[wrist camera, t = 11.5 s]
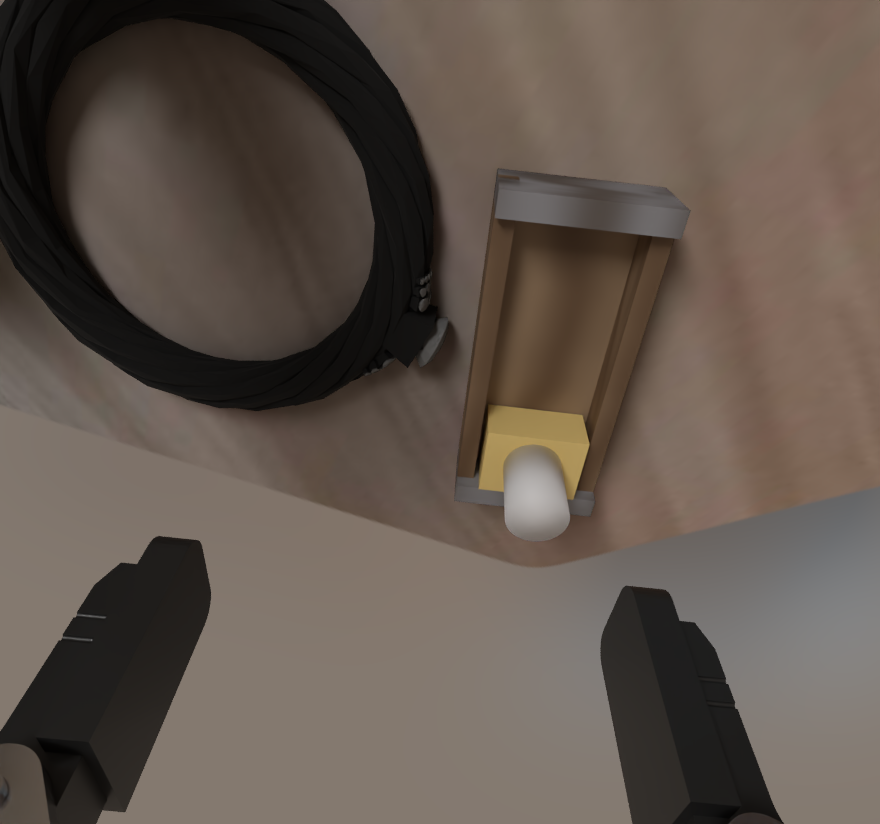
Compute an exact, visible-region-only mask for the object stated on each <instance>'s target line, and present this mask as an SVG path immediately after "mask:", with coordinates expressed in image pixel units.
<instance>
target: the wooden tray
mask: <svg viewBox="0 0 880 824" xmlns="http://www.w3.org/2000/svg"><path fill="white" fill-rule="evenodd" d="M689 214H690V210H689V209H688V208H687V207H686V206H685V205H684V204H683V203H682V202H681V201H680V200H679V199H678V198H677V197H675V196H674V195H673V194H672V193H671V192H670V191H669V190H668V189H667V188H664V187H656V186H647V185H638V184H629V183H620V182H611V181H603V180H594V179H585V178H576V177H567V176H558V175H550V174H541V173H532V172H523V171H514V170H505V169H498V170H497V177H496V184H495V192H494V199H493V206H492V213H491V220H490V227H489V234H488V242H487V249H486V256H485V263H484V270H483V277H482V285H481V292H480V299H479V306H478V313H477V320H476V327H475V335H474V342H473V349H472V356H471V363H470V370H469V378H468V385H467V392H466V399H465V406H464V413H463V421H462V428H461V435H460V442H459V449H458V456H457V469H456V483H455V497H454V501H459V502H468V503H477V504H485V505H494V506H503V507H504V492H500V491H492V490H483V489H479V457H480V451H481V445H482V439H483V433H484V427H485V421H486V415H487V409H488V404H490V405H499V406H508V407H516V408H525V409H534V410H542V411H551V412H560V413H568V414H577V415H583V419H584V423H585V427H586V431H587V436H588V440H589V444H590V445H589V448H588V452H587V455H586V458H585V462H584V465H583V469H582V472H581V475H580V479H579V482H578V485H577V489H576V492H575V495H574V499H573V500H569V499H567V501H568V507H569V513H570V514H572V515H580V516H589V517H590V516H591V513H592V510H593V507H594V504H595V499H594V494H593V491H594V488H595V485H596V482H597V478H598V475H599V472H600V469H601V466H602V463H603V460H604V457H605V454H606V450H607V447H608V444H609V441H610V438H611V435H612V432H613V429H614V426H615V422H616V419H617V416H618V413H619V410H620V407H621V404H622V401H623V398H624V394H625V391H626V388H627V385H628V382H629V379H630V376H631V373H632V369H633V366H634V363H635V360H636V357H637V354H638V351H639V348H640V345H641V341H642V338H643V335H644V332H645V329H646V326H647V323H648V320H649V317H650V313H651V310H652V307H653V304H654V301H655V298H656V295H657V292H658V289H659V285H660V282H661V279H662V276H663V273H664V270H665V267H666V264H667V261H668V257H669V254H670V251H671V248H672V245H673V242H674V239H681V238H682V235H683V232H684V229H685V226H686V223H687V220H688V217H689Z"/></svg>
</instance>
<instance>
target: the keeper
mask: <svg viewBox="0 0 880 824" xmlns="http://www.w3.org/2000/svg"><path fill="white" fill-rule="evenodd" d="M589 445H590V444H589V440H588V436H587V431H586V427H585V423H584V419H583V415H577V414H568V413H560V412H551V411H542V410H534V409H525V408H516V407H508V406H499V405H490V404H488V409H487V415H486V421H485V427H484V433H483V439H482V445H481V451H480V457H479V489H483V490H492V491H500V492H504V510H505V523H506V526H507V528H508V530H509V531H510V532H511V533H512V534H513V535H515V536H516V537H518V538H520V539H523V540H527V541H533V542H540V541H547V540H550V539H553V538H555V537H557V536H559V535H560V534H562V533H563V532H564V531H565V529H566V528H567V527H568V525H569V522H570V513H569V507H568V501H567V499H569V500H573V499H574V495H575V492H576V489H577V485H578V482H579V479H580V475H581V472H582V469H583V465H584V462H585V458H586V455H587V452H588V448H589Z"/></svg>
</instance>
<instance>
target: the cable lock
mask: <svg viewBox="0 0 880 824" xmlns="http://www.w3.org/2000/svg"><path fill="white" fill-rule="evenodd" d="M159 18H173V19H178V20H183V21H189V22H194V23H199V24H205V25H210V26H213V27H217V28H220V29H224V30H227V31H231V32H233V33H236V34H238V35H241V36H243V37H245V38H247V39H248V40H250V41H251V42H253V43H254V44H256V45H258V46H259V47H261V48H262V49H264V50H266V51H267V52H269V53H270V54H272V55H274V56H275V57H277V58H278V59H280V60H282V61H283V62H284V63H285V64H286V65H287V66H288V67H289V68H290V69H291V70H293V71H294V72H295V73H296V74H297V75H298V76H299V77H300V78H301V79H302V80H303V81H304V82H305V83H306V84H307V85H308V86H310V87H311V88H312V89H313V90H314V91H315V92H316V93H317V94H318V95H319V96H320V97H321V98H322V99H323V100H324V101H325V102H326V103H327V104H328V106H329V107H330V108H331V110H332V111H333V113H334V114H335V116H336V118H337V120H338V121H339V123H340V125H341V127H342V128H343V130H344V132H345V134H346V136H347V137H348V139H349V141H350V143H351V145H352V146H353V148H354V150H355V152H356V153H357V155H358V157H359V159H360V161H361V163H362V166H363V168H364V171H365V176H366V181H367V186H368V191H369V196H370V201H371V206H372V211H373V216H374V221H375V231H374V249H373V262H372V266H371V270H370V274H369V278H368V281H367V283H366V285H365V288H364V290H363V292H362V295H361V297H360V299H359V302H358V304H357V306H356V307H355V309H354V310H353V312H352V313H351V314H350V316H349V317H348V319H347V320H346V322H345V323H344V324H342V325H341V326H340V327H339V328H338V329H336V330H335V331H334V332H333V333H331V334H330V335H329V336H328V337H327V338H325V339H324V340H323V341H322V342H320V343H319V344H318V345H317V346H316V347H313V348H311V349H308V350H305V351H302V352H299V353H296V354H293V355H291V356H288V357H285V358H282V359H279V360H273V361H236V360H230V359H224V358H217V357H213V356H210V355H206V354H203V353H199V352H196V351H193V350H190V349H188V348H186V347H184V346H182V345H179V344H177V343H175V342H173V341H171V340H169V339H167V338H165V337H163V336H161V335H159V334H158V333H156V332H154V331H153V330H151V329H150V328H148V327H147V326H145V325H144V324H142V323H140V322H139V321H138V320H137V319H136V318H135V317H133V316H132V315H131V314H130V313H129V312H128V311H127V310H126V309H124V308H123V307H122V306H121V305H120V304H119V303H118V302H117V301H116V300H114V299H113V298H112V297H111V296H110V295H109V294H108V293H107V292H106V291H105V290H104V289H103V287H102V286H101V285H100V284H99V283H98V282H97V281H96V280H95V278H94V277H93V276H92V275H91V274H90V272H89V271H88V269H87V267H86V266H85V264H84V263H83V261H82V260H81V258H80V256H79V255H78V253H77V252H76V250H75V248H74V247H73V245H72V244H71V242H70V240H69V238H68V236H67V234H66V232H65V230H64V228H63V226H62V224H61V222H60V220H59V217H58V215H57V213H56V211H55V209H54V206H53V202H52V197H51V190H50V184H49V177H48V171H47V164H46V158H45V124H46V121H47V117H48V114H49V110H50V107H51V103H52V100H53V98H54V96H55V94H56V92H57V90H58V88H59V86H60V84H61V82H62V80H63V78H64V76H65V74H66V72H67V70H68V68H69V66H70V64H71V62H72V60H73V58H74V57H75V56H76V55H77V54H78V53H79V52H80V51H81V50H83V49H85V48H87V47H89V46H90V45H92V44H94V43H96V42H97V41H99V40H101V39H103V38H104V37H106V36H108V35H110V34H112V33H113V32H115V31H117V30H119V29H120V28H122V27H124V26H126V25H131V24H135V23H140V22H145V21H149V20H154V19H159ZM433 214H434V213H433V204H432V196H431V187H430V179H429V174H428V171H427V168H426V166H425V163H424V160H423V157H422V155H421V152H420V149H419V146H418V140H417V134H416V130H415V128H414V126H413V123H412V121H411V119H410V117H409V114H408V112H407V110H406V108H405V105H404V103H403V101H402V99H401V96H400V94H399V92H398V90H397V88H396V87H395V86H394V84H393V83H392V82H391V80H390V79H389V78H388V76H387V75H386V74H385V72H384V71H383V70H382V69H381V67H380V66H379V65H378V63H377V62H376V61H375V59H374V58H373V57H372V55H371V53H370V51H369V49H368V48H367V47H366V46H365V45H364V43H363V42H362V41H361V40H360V39H359V37H358V36H357V35H356V34H355V32H354V31H353V30H352V29H351V28H350V26H349V25H348V24H347V23H346V22H345V20H344V19H343V18H342V17H341V16H340V14H339V13H338V12H337V11H336V10H335V9H334V8H333V7H332V6H330V5H329V4H328V3H327V2H326V1H324V0H5V1H4V2H3V3H2V5H1V6H0V239H1V241H2V243H3V245H4V247H5V249H6V250H7V252H8V254H9V256H10V258H11V260H12V262H13V264H14V266H15V268H16V269H17V270H18V271H19V273H20V274H21V275H22V276H23V277H24V278H25V280H26V281H27V282H28V283H29V284H30V286H31V287H32V288H33V289H34V290H35V292H36V293H37V294H38V295H39V296H40V298H41V299H42V300H43V301H44V302H45V303H46V305H47V306H48V307H49V309H50V310H51V311H52V312H53V314H54V315H55V316H56V317H57V318H58V320H59V321H60V322H61V323H62V324H63V325H64V326H65V327H66V328H67V329H68V330H69V331H70V332H71V333H72V334H73V336H74V337H75V338H76V339H77V340H78V341H79V342H81V343H82V344H84V345H86V346H87V347H89V348H90V349H92V350H93V351H95V352H96V353H98V354H99V355H101V356H102V357H104V358H106V359H107V360H109V361H110V362H112V363H113V364H114V365H115V366H117V367H118V368H120V369H121V370H123V371H124V372H126V373H127V374H129V375H130V376H132V377H134V378H135V379H137V380H139V381H140V382H142V383H143V384H145V385H147V386H149V387H153V388H156V389H159V390H162V391H165V392H169V393H172V394H175V395H178V396H181V397H183V398H185V399H187V400H191V401H195V402H198V403H202V404H206V405H210V406H214V407H218V408H240V409H247V410H254V411H260V410H266V409H272V408H279V407H285V406H291V405H300V404H304V403H308V402H312V401H316V400H320V399H324V398H325V397H327V396H329V395H330V394H332V393H333V392H335V391H337V390H338V389H340V388H342V387H343V386H345V385H347V384H348V383H349V382H351V381H353V380H356V379H358V378H360V377H361V376H363V375H364V374H365V375H364V376H367V375H371V374H372V373H375V372H377V371H380V369H382V368H385V367H386V366H388V365H389V364H390V363H391V362H393V361H394V360H395V359H396V358H397V359H398V360H399V361H400V362H402V363H403V364H404V365H405V366H406V367H407V368H408V367H409V365H410V364H411V362H412V361H413V359H414V357H415V356H416V358H417V361H418V363H419V366H420V368H421V367H422V366H424V365H426V364H427V363H429V362H431V361H432V360H433V358H434V357H435V355H436V354H437V352H438V351H439V349H440V348H441V346H442V345H443V342H444V339H445V337H446V334H447V331H448V317H446V318H441V319H437V317H436V311H437V307H436V306H433V305H430V299H431V289H430V287H431V279H430V278H432V270H431V268H430V263H431V259H432V255H433ZM382 366H383V367H382Z"/></svg>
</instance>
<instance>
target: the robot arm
mask: <svg viewBox="0 0 880 824" xmlns="http://www.w3.org/2000/svg"><path fill="white" fill-rule="evenodd" d="M210 601H211V589H210V584H209V579H208V574H207V569H206V564H205V559H204V554H203V549H202V545H201V543H200V541H198V540H191V539H181V538H172V537H162V536H158V537H155V538H154V539H153V540H152V541H151V542H150V544H149V545H148V547H147V548H146V550H145V552H144V554H143V555H142V557H141V559H140V560H139V562H138V564H129V563H120V564H119V565H118V566H117V567H115V568H114V569H113V570H112V571H110V572H109V573H108V574H107V575H106V576H105V577H103V578H102V579H101V580H100V581H99V582H97V583H96V584H95V585H94V587H93V588H92V590H91V591H90V593H89V594H88V596H87V597H86V599H85V601H84V602H83V604H82V605H81V607H80V608H79V610H78V612H77V616H76V618H73V619H72V621H71V622H70V624H69V626H68V627H67V629H66V630H65V632H64V633H63V638H62V640H61V641H58V643H57V644H56V646H55V648H54V649H53V651H52V652H51V654H50V655H49V657H48V659H47V660H46V662H45V663H44V665H43V666H42V668H41V669H40V671H39V672H38V674H37V676H36V677H35V679H34V681H33V682H32V683H31V685H30V686H29V688H28V690H27V691H26V693H25V694H24V696H23V697H22V699H21V701H20V702H19V704H18V705H17V707H16V709H15V710H14V712H13V713H12V715H11V716H10V718H9V719H8V721H7V723H6V724H5V726H4V727H3V729H2V730H1V731H0V824H96V823H97V820H98V818H99V816H100V814H101V812H102V810H106V811H118V812H125V811H126V809H127V807H128V804H129V802H130V799H131V797H132V795H133V792H134V790H135V787H136V785H137V783H138V781H139V778H140V776H141V773H142V771H143V769H144V766H145V764H146V761H147V759H148V757H149V755H150V752H151V750H152V748H153V745H154V743H155V741H156V738H157V736H158V733H159V731H160V728H161V726H162V724H163V722H164V719H165V717H166V715H167V712H168V710H169V708H170V705H171V702H172V700H173V698H174V696H175V693H176V691H177V688H178V686H179V684H180V681H181V679H182V677H183V675H184V672H185V670H186V667H187V665H188V663H189V660H190V658H191V656H192V653H193V651H194V649H195V646H196V644H197V642H198V639H199V637H200V634H201V632H202V630H203V627H204V625H205V622H206V619H207V616H208V613H209V608H210ZM601 664H602V669H603V675H604V680H605V685H606V690H607V695H608V700H609V705H610V710H611V715H612V721H613V726H614V731H615V736H616V741H617V746H618V751H619V757H620V762H621V767H622V772H623V777H624V782H625V787H626V792H627V797H628V803H629V808H630V813H631V818H632V823H633V824H784V823H783V822H782V820H781V818H780V817H779V815H778V813H777V811H776V809H775V807H774V805H773V803H772V800H771V798H770V795H769V792H768V790H767V787H766V784H765V781H764V779H763V776H762V773H761V771H760V768H759V766H758V763H757V760H756V757H755V755H754V752H753V750H752V747H751V744H750V742H749V739H748V736H747V733H746V731H745V728H744V725H743V723H742V720H741V718H740V715H739V712H738V710H737V709H735V701H734V699H733V696H732V693H731V691H730V688H729V685H728V684H726V677H725V675H724V672H723V669H722V667H721V664H720V661H719V659H718V656H717V653H716V651H715V648H714V647H713V646H712V645H711V643H710V642H709V641H708V639H707V638H706V637H705V636H704V634H703V633H702V632H701V630H700V629H699V628H698V626H697V625H696V624H695V623H693V622H684V621H679V618H678V615H677V612H676V609H675V606H674V604H673V600H672V598H671V596H670V594H669V593H668V592H667V591H666V590H662V589H653V588H643V587H633V586H625V587H624V588H623V589H622V591H621V593H620V595H619V597H618V599H617V601H616V604H615V606H614V608H613V610H612V613H611V615H610V617H609V619H608V621H607V624H606V626H605V628H604V631H603V634H602V639H601Z"/></svg>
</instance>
